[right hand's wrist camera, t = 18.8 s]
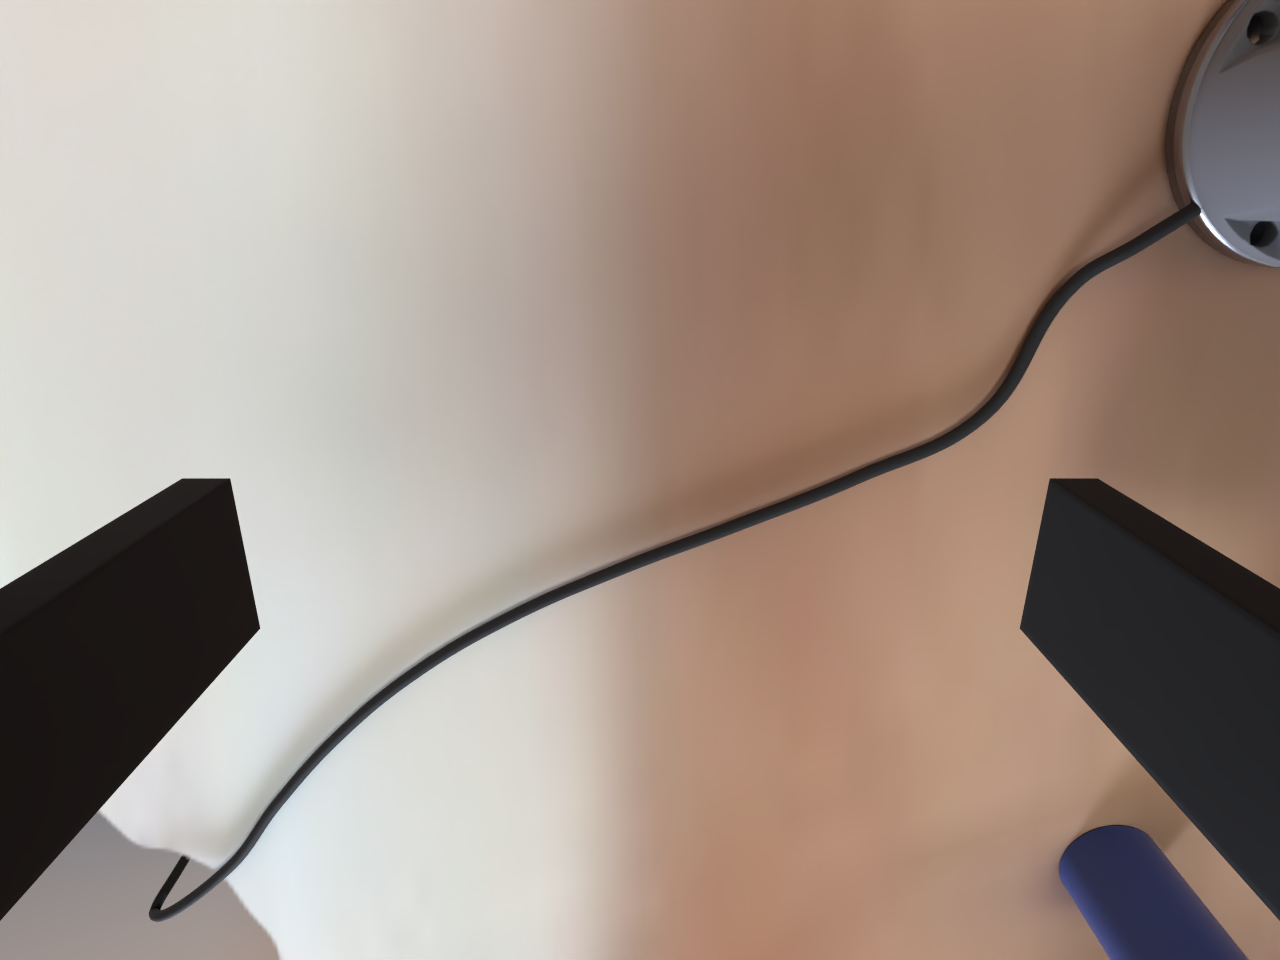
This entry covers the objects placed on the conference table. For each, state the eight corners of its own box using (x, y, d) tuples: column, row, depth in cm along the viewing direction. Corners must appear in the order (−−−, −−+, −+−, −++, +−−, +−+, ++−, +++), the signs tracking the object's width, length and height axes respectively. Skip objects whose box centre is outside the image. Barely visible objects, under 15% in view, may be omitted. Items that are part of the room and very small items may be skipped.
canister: (1173, 833, 54) (1307, 992, 44) (1131, 904, 57) (1248, 1072, 46) (1082, 817, 54) (1194, 974, 43) (1043, 890, 56) (1140, 1056, 45)
